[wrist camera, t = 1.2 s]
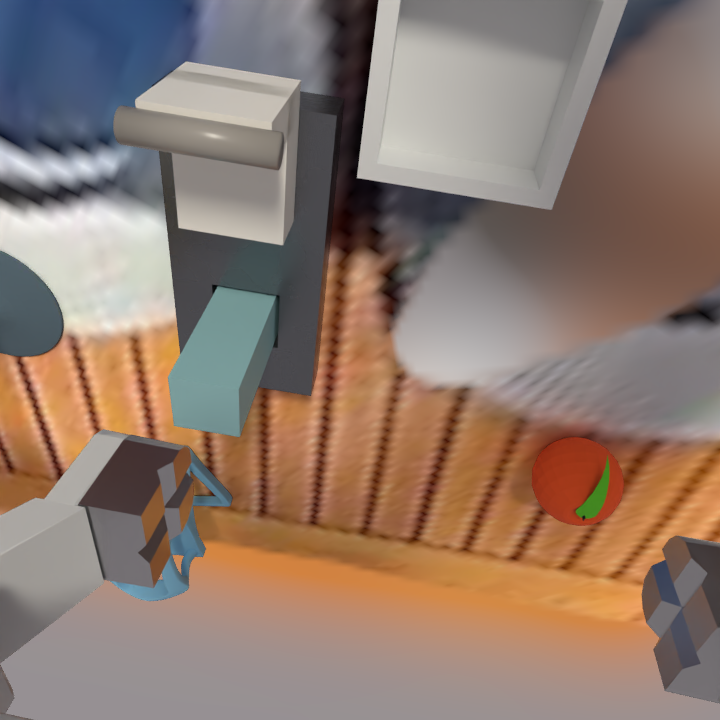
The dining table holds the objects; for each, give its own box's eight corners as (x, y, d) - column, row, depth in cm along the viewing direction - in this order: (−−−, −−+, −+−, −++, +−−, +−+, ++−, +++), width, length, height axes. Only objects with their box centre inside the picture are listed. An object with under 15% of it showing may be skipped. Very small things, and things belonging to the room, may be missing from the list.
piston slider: (176, 59, 30) (110, 107, 24) (310, 81, 30) (276, 134, 24) (187, 203, 35) (135, 271, 30) (301, 222, 35) (272, 294, 29)
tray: (392, -69, 28) (386, -62, 26) (618, -33, 28) (635, -22, 26) (363, 154, 35) (356, 177, 33) (543, 184, 35) (551, 210, 33)
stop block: (229, 265, 42) (168, 377, 33) (284, 274, 42) (238, 389, 33) (230, 310, 44) (174, 425, 35) (282, 319, 44) (239, 437, 35)
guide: (172, 70, 34) (152, 85, 31) (344, 98, 33) (336, 115, 31) (195, 349, 47) (182, 374, 45) (317, 370, 47) (310, 395, 45)
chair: (211, 444, 55) (163, 560, 46) (233, 499, 60) (195, 613, 51) (134, 444, 56) (73, 556, 47) (163, 498, 61) (113, 608, 52)
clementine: (554, 401, 46) (568, 472, 41) (636, 422, 47) (661, 495, 41) (514, 463, 52) (522, 533, 46) (588, 482, 52) (605, 553, 47)
